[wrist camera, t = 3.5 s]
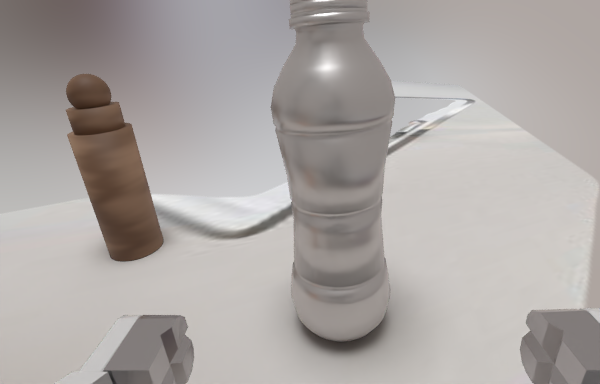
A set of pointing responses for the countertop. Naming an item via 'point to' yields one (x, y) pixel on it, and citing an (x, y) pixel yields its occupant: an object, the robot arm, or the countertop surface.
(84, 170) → the pepper mill
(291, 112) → the plastic bottle
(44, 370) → the countertop surface
